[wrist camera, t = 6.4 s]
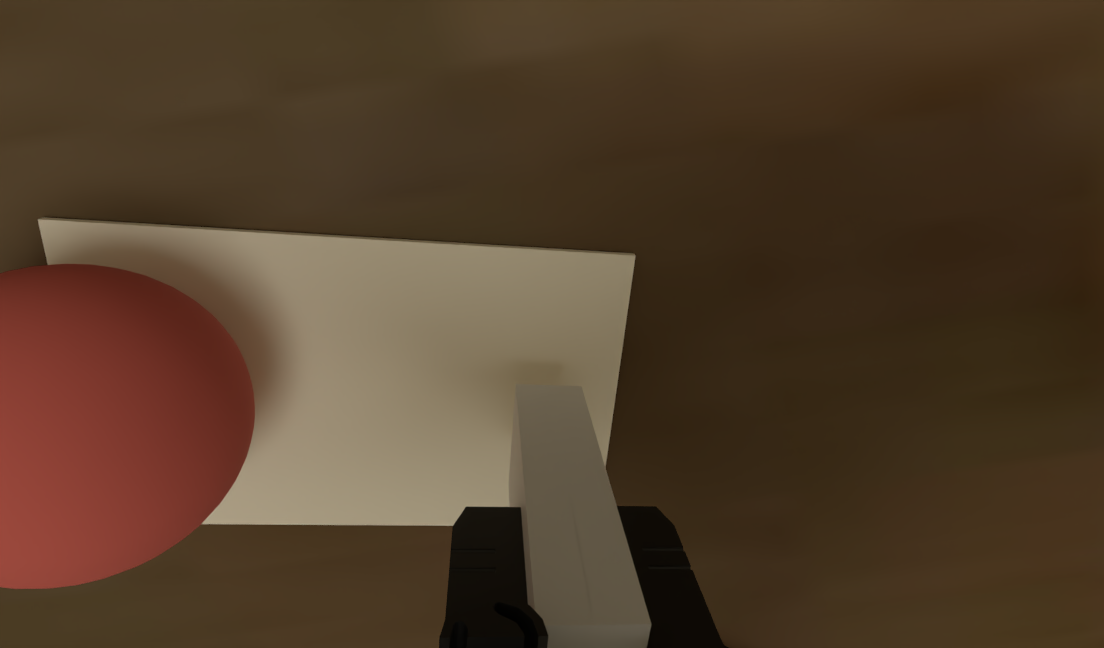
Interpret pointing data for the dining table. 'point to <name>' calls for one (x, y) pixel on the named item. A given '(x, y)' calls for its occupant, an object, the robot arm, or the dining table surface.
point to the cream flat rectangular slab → (380, 357)
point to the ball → (110, 421)
